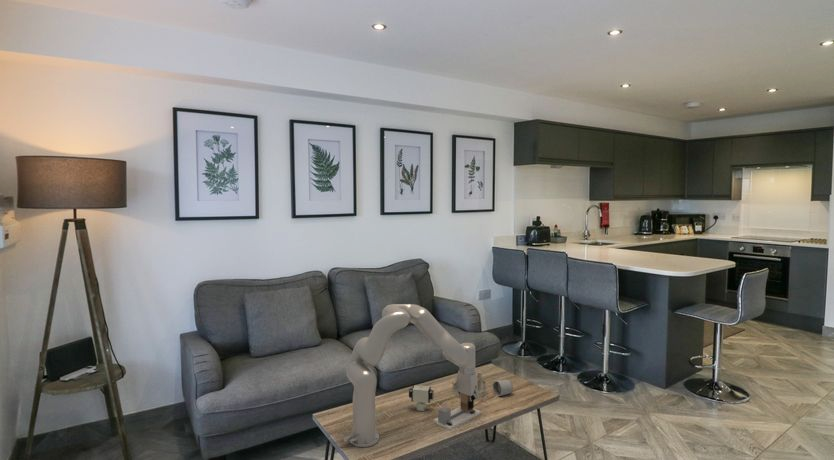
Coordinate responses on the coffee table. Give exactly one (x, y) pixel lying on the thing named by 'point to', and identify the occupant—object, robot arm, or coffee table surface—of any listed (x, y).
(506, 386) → the ceramic mug
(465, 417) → the board
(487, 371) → the coffee table surface
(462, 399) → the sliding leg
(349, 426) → the coffee table surface
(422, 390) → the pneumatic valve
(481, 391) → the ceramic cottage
